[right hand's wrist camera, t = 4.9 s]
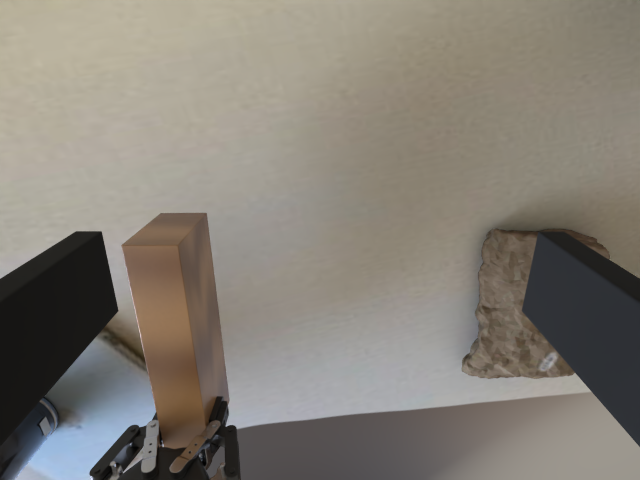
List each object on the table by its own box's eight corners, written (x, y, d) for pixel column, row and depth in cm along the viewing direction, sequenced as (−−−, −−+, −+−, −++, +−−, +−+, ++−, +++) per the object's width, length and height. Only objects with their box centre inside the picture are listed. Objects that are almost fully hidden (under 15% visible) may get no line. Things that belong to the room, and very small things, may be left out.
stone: (573, 383, 55) (591, 410, 49) (459, 364, 58) (463, 387, 53) (605, 230, 50) (628, 240, 45) (478, 220, 54) (485, 228, 48)
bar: (160, 212, 42) (120, 245, 34) (206, 212, 42) (178, 245, 34) (191, 400, 51) (166, 460, 43) (229, 400, 51) (211, 460, 43)
